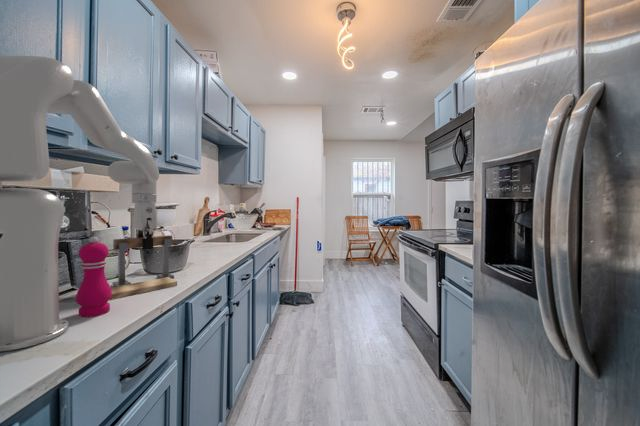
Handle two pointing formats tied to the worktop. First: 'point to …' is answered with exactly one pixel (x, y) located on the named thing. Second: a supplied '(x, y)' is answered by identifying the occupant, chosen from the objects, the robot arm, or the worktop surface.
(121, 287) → the oak board
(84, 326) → the worktop surface
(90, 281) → the pepper mill
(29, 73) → the robot arm
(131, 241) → the walnut rail
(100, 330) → the worktop surface
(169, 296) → the worktop surface
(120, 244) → the hook stands
